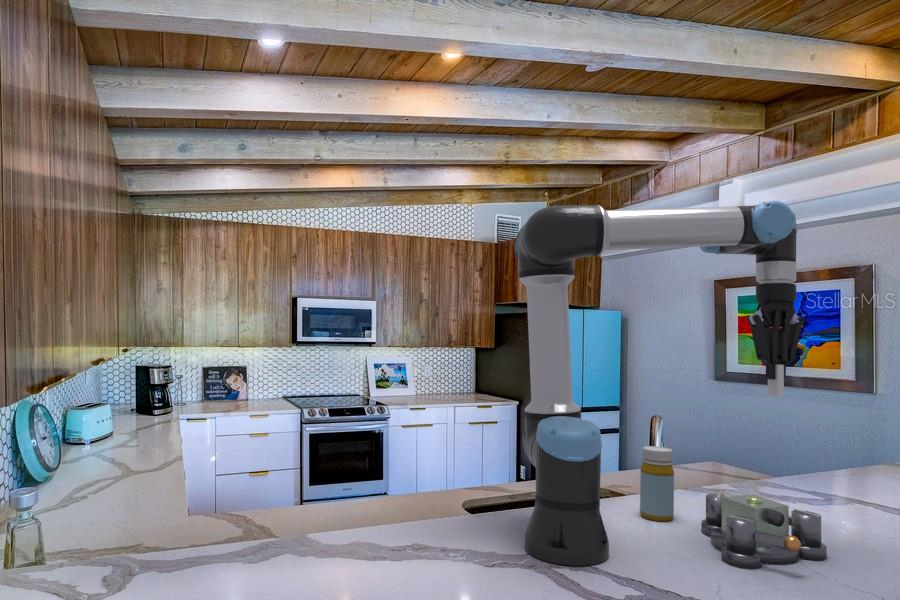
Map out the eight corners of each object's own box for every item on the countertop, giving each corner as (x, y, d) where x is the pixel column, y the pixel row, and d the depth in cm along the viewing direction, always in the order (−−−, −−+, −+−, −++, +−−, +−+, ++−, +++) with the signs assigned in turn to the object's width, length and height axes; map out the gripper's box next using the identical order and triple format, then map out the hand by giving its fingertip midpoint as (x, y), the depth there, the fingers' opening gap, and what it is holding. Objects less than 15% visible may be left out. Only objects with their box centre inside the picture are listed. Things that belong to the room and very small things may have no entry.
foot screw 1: (731, 528, 117) (731, 500, 117) (705, 524, 119) (705, 496, 119) (731, 513, 128) (731, 487, 128) (707, 509, 130) (707, 484, 130)
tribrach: (741, 570, 101) (741, 513, 101) (663, 532, 120) (664, 484, 120) (834, 559, 108) (834, 505, 109) (747, 525, 127) (747, 479, 127)
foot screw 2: (722, 549, 105) (723, 517, 105) (730, 542, 108) (730, 512, 109) (797, 567, 97) (797, 533, 97) (803, 560, 101) (803, 527, 101)
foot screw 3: (827, 544, 109) (826, 514, 109) (811, 548, 107) (811, 517, 107) (767, 525, 119) (767, 498, 120) (752, 528, 117) (752, 500, 118)
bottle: (676, 523, 126) (676, 452, 127) (641, 520, 127) (643, 450, 128) (670, 514, 133) (671, 447, 134) (638, 511, 134) (639, 444, 135)
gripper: (787, 286, 130) (787, 394, 128) (736, 283, 126) (736, 393, 125) (815, 283, 122) (816, 397, 121) (763, 280, 119) (763, 397, 118)
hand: (775, 395), depth 123 cm, fingers closed
